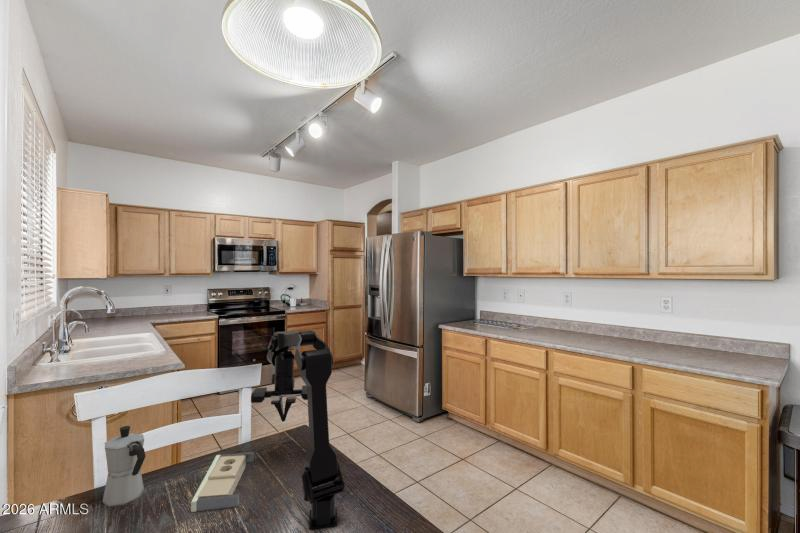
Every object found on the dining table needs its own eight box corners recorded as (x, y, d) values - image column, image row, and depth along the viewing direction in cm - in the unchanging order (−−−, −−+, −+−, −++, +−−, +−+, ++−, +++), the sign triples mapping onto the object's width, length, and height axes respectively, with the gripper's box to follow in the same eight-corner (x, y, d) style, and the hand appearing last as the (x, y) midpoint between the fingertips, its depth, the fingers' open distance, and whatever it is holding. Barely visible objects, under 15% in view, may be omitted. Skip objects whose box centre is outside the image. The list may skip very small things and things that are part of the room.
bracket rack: (237, 506, 92) (237, 496, 92) (190, 512, 90) (191, 501, 90) (253, 459, 115) (253, 451, 115) (216, 463, 112) (216, 455, 112)
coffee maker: (91, 497, 95) (92, 428, 95) (129, 480, 103) (130, 416, 103) (121, 516, 88) (123, 441, 88) (160, 496, 96) (161, 427, 96)
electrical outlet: (197, 492, 92) (220, 456, 110) (197, 509, 92) (220, 469, 110) (227, 490, 93) (245, 454, 111) (227, 506, 93) (245, 468, 111)
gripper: (315, 363, 125) (314, 409, 125) (257, 365, 121) (256, 412, 121) (314, 372, 114) (313, 423, 114) (251, 375, 110) (250, 427, 110)
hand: (283, 420), depth 115 cm, fingers closed
